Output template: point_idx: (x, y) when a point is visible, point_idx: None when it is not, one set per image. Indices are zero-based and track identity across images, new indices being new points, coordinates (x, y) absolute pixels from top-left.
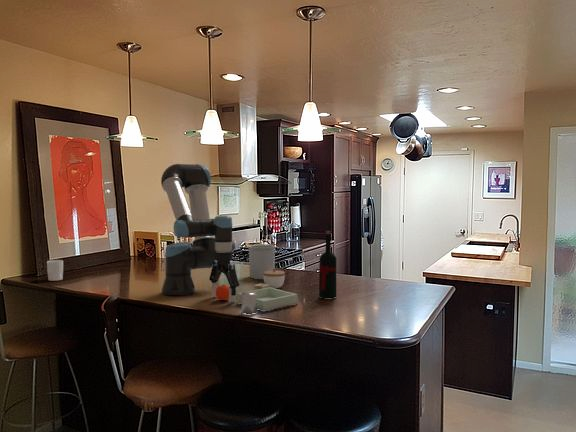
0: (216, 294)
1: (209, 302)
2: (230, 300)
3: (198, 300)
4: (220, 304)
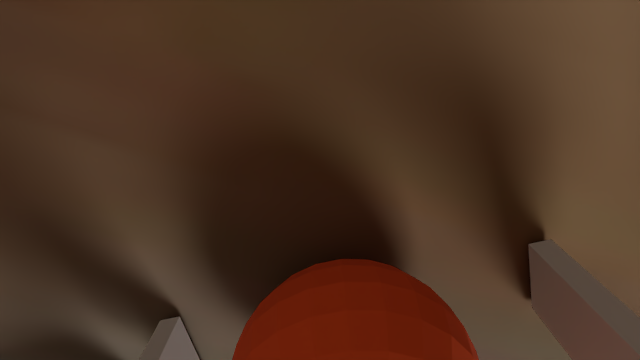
0: (342, 275)
1: (337, 125)
2: (147, 348)
3: (541, 11)
4: (174, 217)
